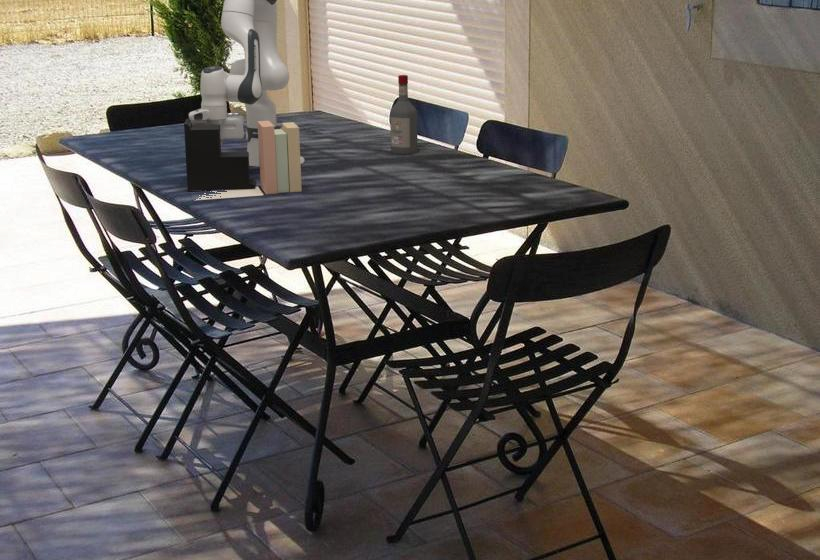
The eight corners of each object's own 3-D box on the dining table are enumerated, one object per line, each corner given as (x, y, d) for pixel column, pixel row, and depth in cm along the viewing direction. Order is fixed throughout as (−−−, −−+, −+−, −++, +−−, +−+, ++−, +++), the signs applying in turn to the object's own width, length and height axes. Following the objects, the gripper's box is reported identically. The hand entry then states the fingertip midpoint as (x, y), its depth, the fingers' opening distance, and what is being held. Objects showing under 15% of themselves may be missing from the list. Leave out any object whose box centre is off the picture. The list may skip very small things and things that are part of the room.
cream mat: (257, 187, 424) (257, 186, 424) (264, 196, 411) (263, 195, 411) (188, 192, 418) (188, 191, 418) (192, 201, 405) (192, 200, 405)
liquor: (407, 155, 472) (406, 77, 463) (388, 153, 477) (386, 76, 468) (420, 151, 479) (419, 75, 471) (401, 149, 484) (399, 73, 475)
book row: (295, 184, 426) (293, 119, 419) (301, 191, 415) (299, 124, 408) (260, 187, 423) (257, 121, 416) (265, 194, 412) (262, 126, 405)
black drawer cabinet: (256, 182, 430) (252, 116, 423) (255, 189, 419) (252, 121, 413) (189, 184, 428) (185, 118, 421) (187, 191, 417) (182, 123, 410)
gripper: (242, 111, 432) (243, 149, 436) (184, 113, 427) (186, 152, 430) (245, 113, 426) (246, 152, 430) (186, 115, 421) (187, 155, 425)
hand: (215, 152), depth 430 cm, fingers closed
